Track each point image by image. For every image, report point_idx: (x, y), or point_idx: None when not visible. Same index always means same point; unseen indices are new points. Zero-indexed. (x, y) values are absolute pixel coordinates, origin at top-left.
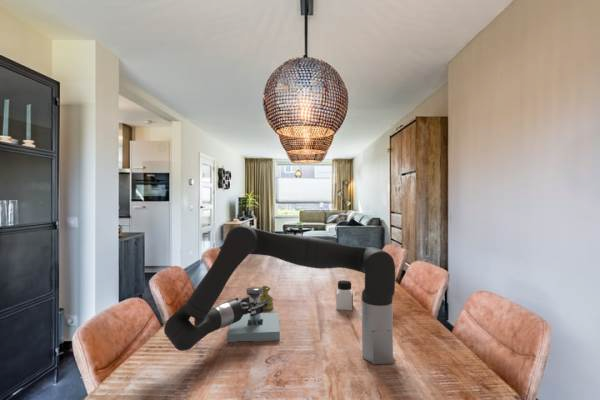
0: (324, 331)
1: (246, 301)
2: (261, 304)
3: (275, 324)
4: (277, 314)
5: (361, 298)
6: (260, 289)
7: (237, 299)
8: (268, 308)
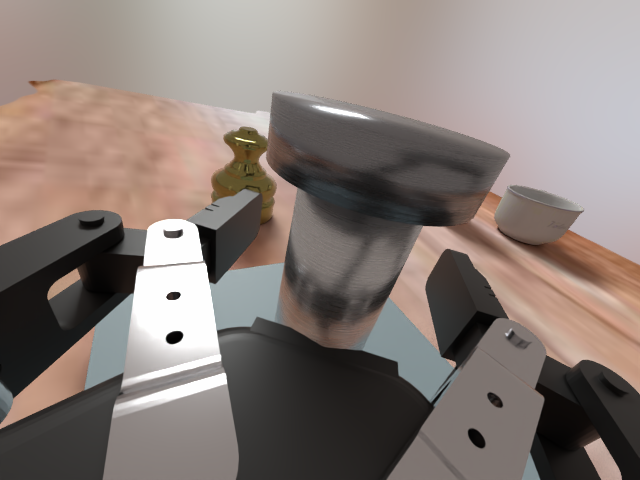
0: (545, 334)
1: (233, 247)
2: (587, 373)
3: (436, 373)
4: None
5: (521, 200)
6: (464, 137)
7: (111, 241)
8: (264, 217)
